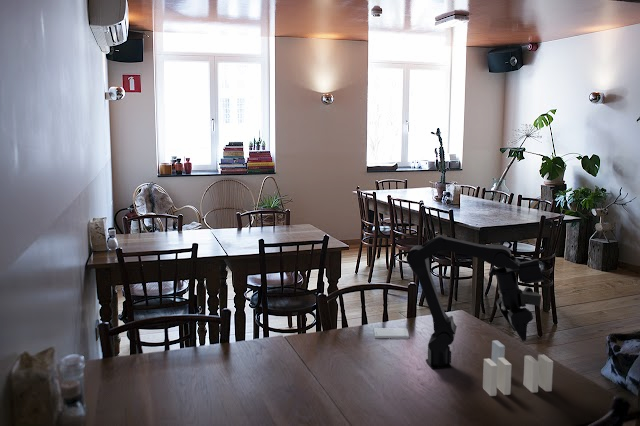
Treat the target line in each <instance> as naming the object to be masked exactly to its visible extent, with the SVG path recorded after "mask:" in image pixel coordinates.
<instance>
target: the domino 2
mask: <svg viewBox="0 0 640 426" xmlns="http://www.w3.org/2000/svg"><path fill="white" fill-rule="evenodd" d="M505 350H506V346H505V345H504V344H503V343H501V342H500V341H499V340H491V358H490V359H491V360H492V361H493V362H494V363H495V364H496V365H497V359H498V358H502V357H504V358H505V356H506V351H505ZM505 359H506V358H505Z"/></svg>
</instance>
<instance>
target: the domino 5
mask: <svg viewBox="0 0 640 426" xmlns="http://www.w3.org/2000/svg"><path fill="white" fill-rule="evenodd" d="M537 361H538V362H539V381H538V387H540V388H541V389H542V390H544V391H545V392H552V391H553V390H552V389H553V371H554V361H553V360H552V359H551V358H549V357H548V356H547V355H546V354H537Z"/></svg>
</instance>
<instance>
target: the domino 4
mask: <svg viewBox="0 0 640 426" xmlns="http://www.w3.org/2000/svg"><path fill="white" fill-rule="evenodd" d="M523 361H524V365H523V383H522V384H523V386H524V387H525V388H526V389H527V390H528V391H530V393H538V392H539V385H538V381H539V362H538V359H536V358H534V357H533V356H532V355H524V360H523Z"/></svg>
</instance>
